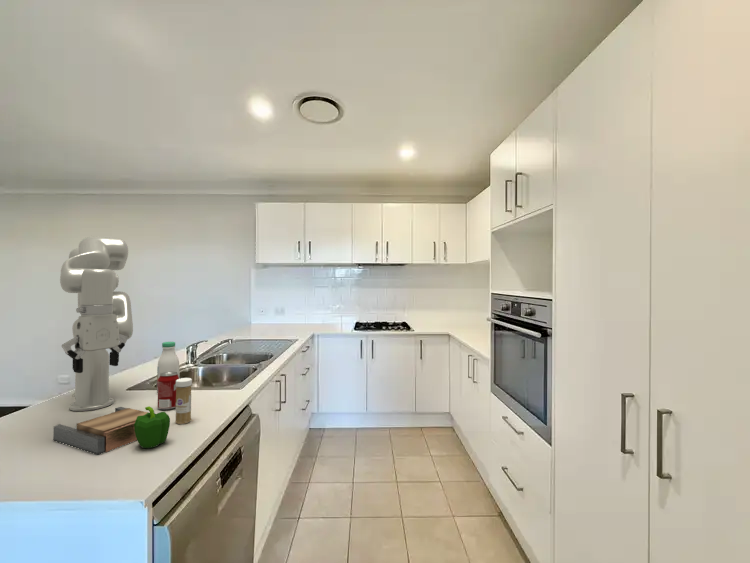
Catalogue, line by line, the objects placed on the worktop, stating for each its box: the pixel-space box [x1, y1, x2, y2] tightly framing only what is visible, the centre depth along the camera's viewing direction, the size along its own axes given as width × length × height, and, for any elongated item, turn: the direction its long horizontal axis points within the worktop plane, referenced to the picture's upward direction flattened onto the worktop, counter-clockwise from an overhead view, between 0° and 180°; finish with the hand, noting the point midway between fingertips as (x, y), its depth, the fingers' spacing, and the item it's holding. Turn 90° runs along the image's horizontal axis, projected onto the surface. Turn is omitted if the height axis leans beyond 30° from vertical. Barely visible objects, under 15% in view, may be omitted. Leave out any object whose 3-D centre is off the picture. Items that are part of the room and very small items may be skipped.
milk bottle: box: [156, 341, 180, 394], centre depth 148 cm, size 8×8×20 cm
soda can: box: [157, 372, 181, 411], centre depth 131 cm, size 7×7×12 cm
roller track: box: [52, 406, 137, 456], centre depth 107 cm, size 20×18×5 cm
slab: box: [76, 407, 148, 437], centre depth 106 cm, size 12×14×2 cm
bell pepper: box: [134, 406, 171, 449], centre depth 102 cm, size 8×8×10 cm
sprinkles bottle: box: [174, 377, 193, 425], centre depth 118 cm, size 5×5×14 cm
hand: (96, 368), depth 110 cm, fingers open, 9 cm apart
